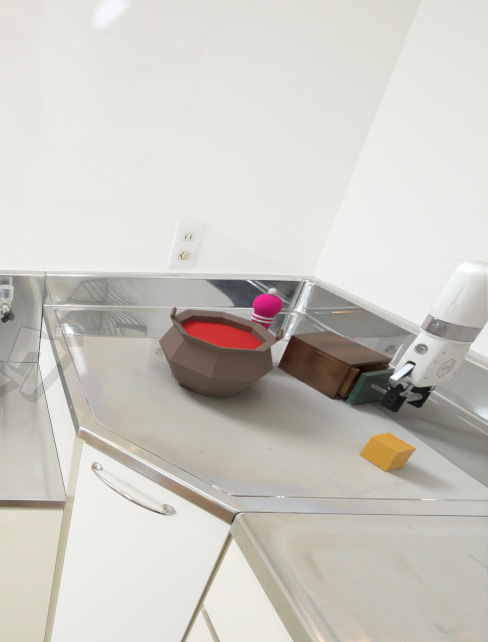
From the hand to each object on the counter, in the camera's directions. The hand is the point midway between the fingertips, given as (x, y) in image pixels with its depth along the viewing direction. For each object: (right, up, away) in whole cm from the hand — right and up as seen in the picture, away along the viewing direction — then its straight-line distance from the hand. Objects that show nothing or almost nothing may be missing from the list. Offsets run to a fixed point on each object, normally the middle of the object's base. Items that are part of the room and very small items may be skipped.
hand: (400, 405), depth 88 cm
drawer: (-2, +2, +8) cm, 9 cm away
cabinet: (-5, +5, +15) cm, 16 cm away
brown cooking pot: (-35, +5, +12) cm, 37 cm away
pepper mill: (-20, +9, +20) cm, 30 cm away
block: (-14, -9, -11) cm, 20 cm away
